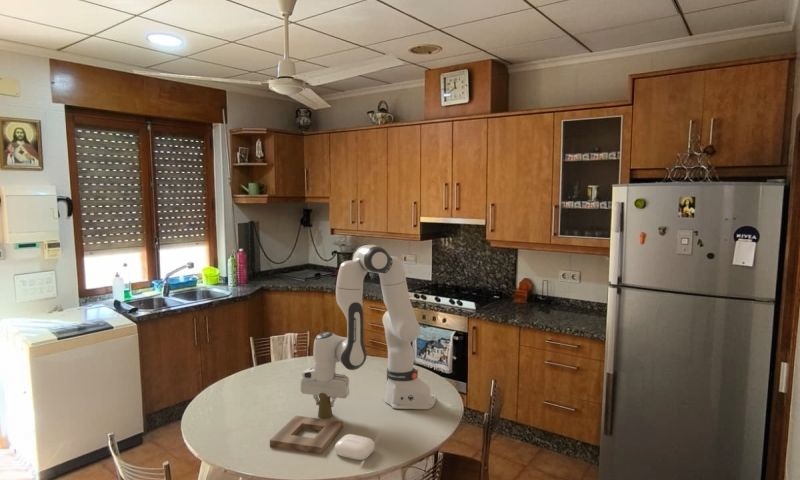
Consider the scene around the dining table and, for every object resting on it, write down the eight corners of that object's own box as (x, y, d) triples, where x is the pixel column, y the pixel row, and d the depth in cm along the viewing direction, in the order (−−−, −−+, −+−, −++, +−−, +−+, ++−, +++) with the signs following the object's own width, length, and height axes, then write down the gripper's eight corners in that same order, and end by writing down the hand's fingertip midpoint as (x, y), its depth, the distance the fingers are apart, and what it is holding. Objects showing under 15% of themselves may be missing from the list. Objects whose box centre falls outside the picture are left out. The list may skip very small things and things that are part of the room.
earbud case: (345, 443, 173) (345, 429, 173) (378, 451, 168) (378, 436, 167) (331, 457, 164) (331, 442, 163) (364, 465, 159) (364, 450, 158)
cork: (333, 413, 197) (333, 387, 196) (331, 420, 191) (331, 393, 190) (318, 413, 197) (318, 387, 196) (316, 420, 191) (316, 393, 190)
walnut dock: (343, 429, 183) (343, 421, 183) (321, 455, 164) (321, 447, 164) (296, 422, 189) (295, 415, 188) (269, 448, 169) (269, 439, 169)
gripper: (351, 372, 193) (351, 405, 194) (305, 367, 198) (305, 399, 199) (345, 378, 187) (346, 411, 188) (298, 373, 192) (299, 406, 193)
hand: (325, 405), depth 194 cm, fingers closed on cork, 4 cm apart
